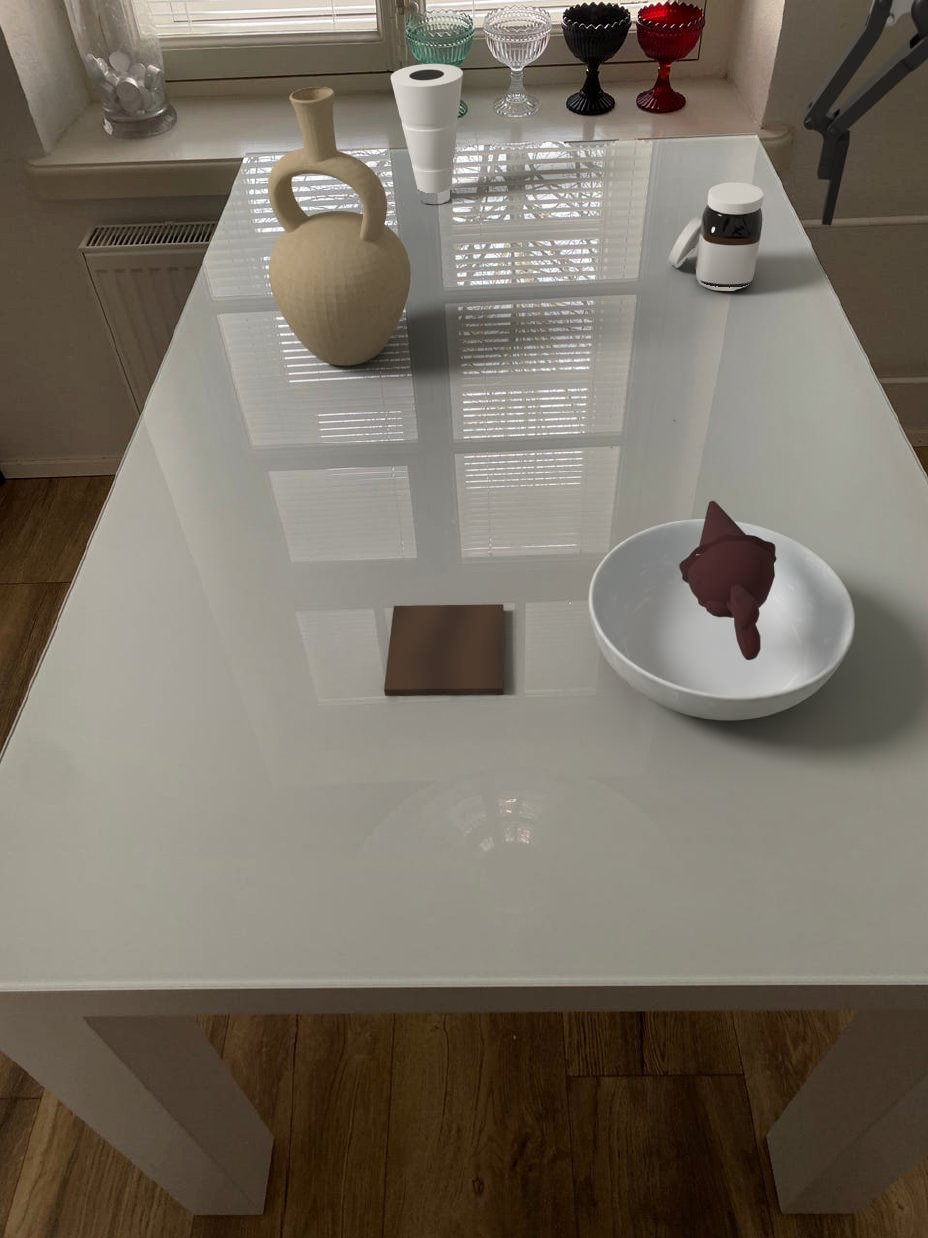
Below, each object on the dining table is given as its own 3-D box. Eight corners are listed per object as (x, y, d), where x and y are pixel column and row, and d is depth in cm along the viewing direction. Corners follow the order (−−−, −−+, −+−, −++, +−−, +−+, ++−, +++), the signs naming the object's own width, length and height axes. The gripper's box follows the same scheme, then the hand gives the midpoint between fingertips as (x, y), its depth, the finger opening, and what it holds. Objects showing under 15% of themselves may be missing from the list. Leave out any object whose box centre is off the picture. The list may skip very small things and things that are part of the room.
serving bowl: (745, 549, 91) (757, 491, 86) (889, 705, 77) (913, 647, 72) (546, 611, 87) (547, 554, 82) (660, 790, 73) (670, 734, 68)
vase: (263, 379, 117) (204, 116, 96) (317, 314, 128) (274, 65, 107) (390, 396, 113) (358, 125, 92) (435, 327, 124) (415, 71, 103)
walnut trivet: (503, 610, 87) (503, 603, 87) (503, 694, 80) (503, 688, 80) (394, 611, 88) (393, 605, 87) (385, 695, 81) (384, 689, 80)
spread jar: (754, 298, 125) (769, 209, 117) (666, 296, 127) (675, 208, 119) (749, 257, 134) (764, 171, 125) (667, 255, 135) (676, 170, 127)
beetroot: (661, 482, 78) (692, 625, 68) (754, 460, 76) (799, 604, 67) (672, 539, 83) (703, 679, 73) (760, 520, 81) (803, 661, 72)
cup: (440, 180, 159) (432, 59, 146) (482, 198, 153) (477, 73, 140) (389, 199, 154) (376, 75, 142) (429, 218, 148) (420, 91, 136)
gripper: (805, -83, 64) (753, 232, 79) (1233, -85, 58) (1089, 255, 73) (810, -104, 69) (760, 196, 84) (1204, -108, 63) (1075, 215, 78)
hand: (913, 224), depth 79 cm, fingers open, 13 cm apart
